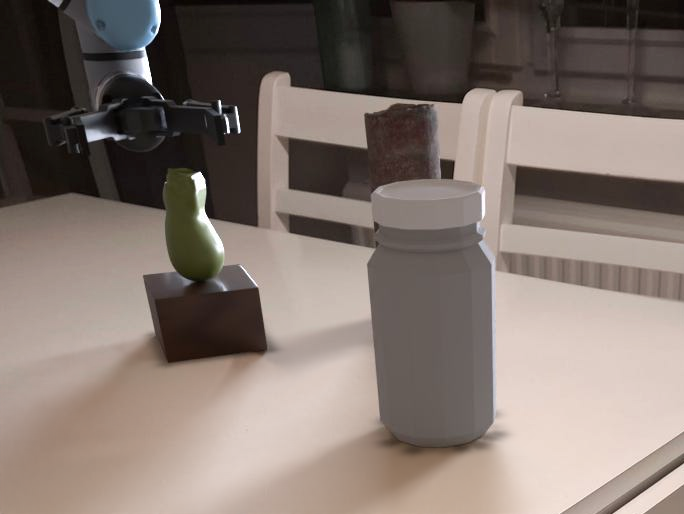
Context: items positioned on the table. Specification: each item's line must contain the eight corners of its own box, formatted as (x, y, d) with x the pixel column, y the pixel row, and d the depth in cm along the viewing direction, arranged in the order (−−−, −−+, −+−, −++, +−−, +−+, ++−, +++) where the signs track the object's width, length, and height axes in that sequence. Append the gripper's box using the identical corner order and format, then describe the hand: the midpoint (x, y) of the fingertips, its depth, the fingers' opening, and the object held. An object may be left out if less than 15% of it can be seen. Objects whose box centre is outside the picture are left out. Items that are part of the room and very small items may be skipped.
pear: (182, 273, 103) (161, 163, 97) (233, 272, 103) (215, 161, 96) (167, 288, 98) (144, 173, 92) (221, 287, 98) (201, 172, 92)
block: (167, 363, 99) (154, 299, 95) (155, 335, 106) (142, 274, 103) (267, 349, 102) (258, 287, 98) (249, 322, 109) (239, 263, 105)
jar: (410, 401, 89) (395, 174, 78) (513, 414, 86) (513, 179, 75) (361, 442, 82) (337, 198, 71) (471, 458, 79) (464, 206, 68)
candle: (403, 332, 105) (388, 110, 93) (367, 316, 110) (348, 103, 98) (462, 318, 109) (455, 102, 96) (425, 303, 113) (414, 95, 101)
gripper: (243, 139, 124) (278, 166, 108) (29, 156, 117) (34, 187, 101) (232, 67, 119) (268, 84, 103) (9, 79, 112) (12, 100, 97)
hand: (152, 135), depth 102 cm, fingers open, 13 cm apart
